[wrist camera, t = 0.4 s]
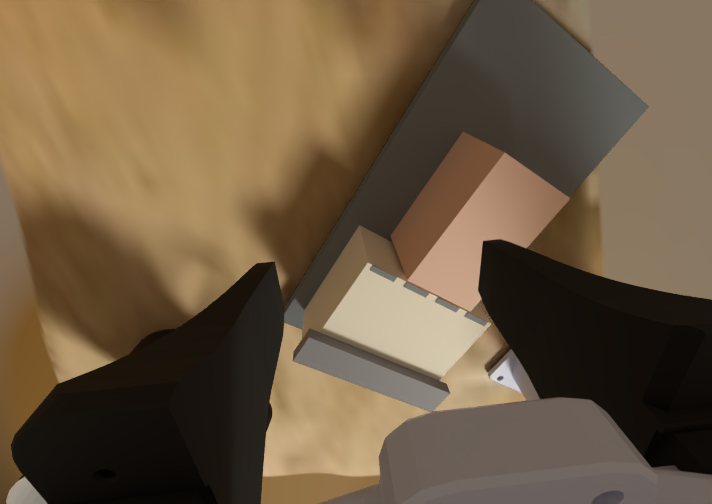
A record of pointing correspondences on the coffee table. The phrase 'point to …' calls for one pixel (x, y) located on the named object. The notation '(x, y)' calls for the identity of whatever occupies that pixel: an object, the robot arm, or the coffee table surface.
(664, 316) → the robot arm
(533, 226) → the stub
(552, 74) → the mat
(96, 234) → the coffee table surface
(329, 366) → the pad
